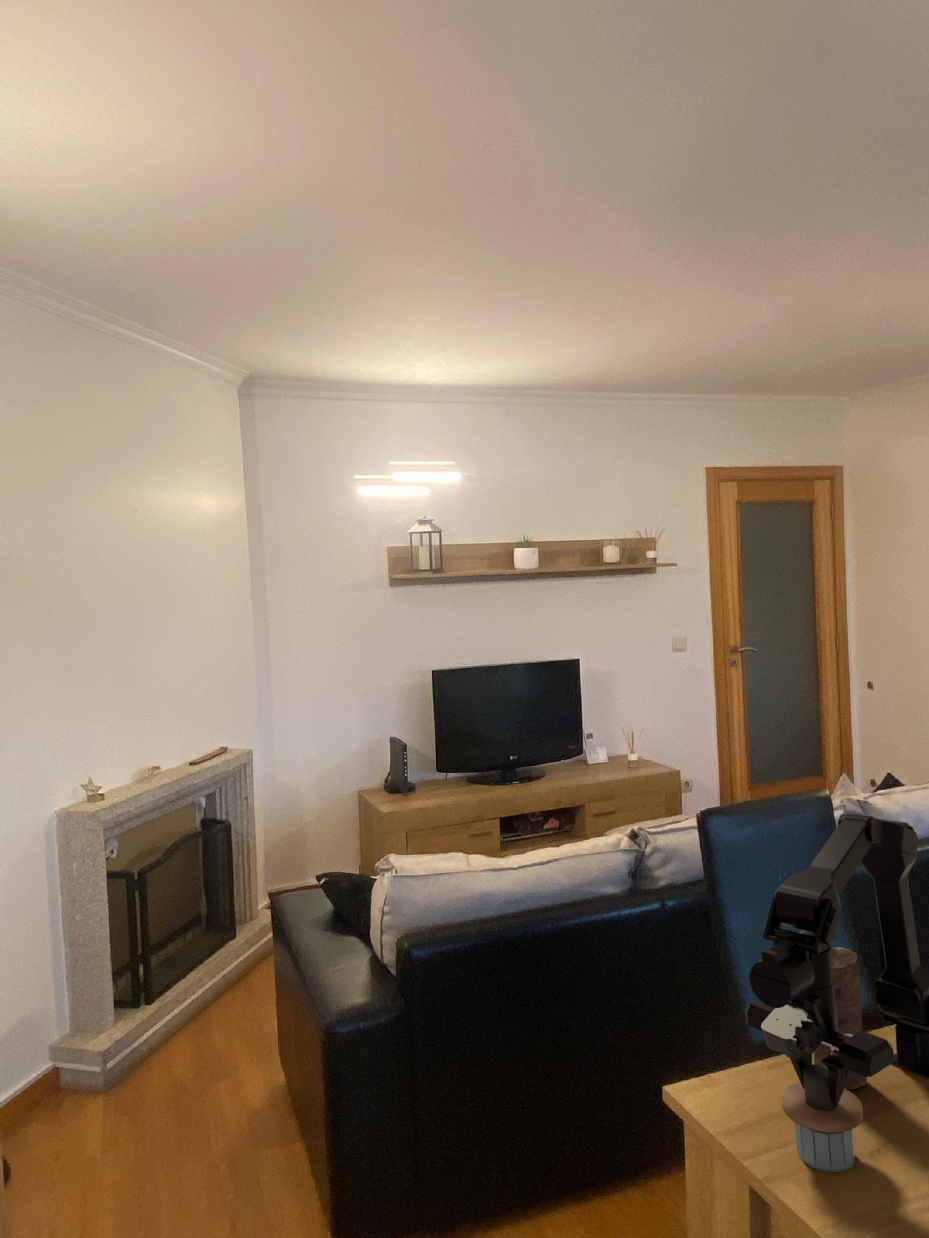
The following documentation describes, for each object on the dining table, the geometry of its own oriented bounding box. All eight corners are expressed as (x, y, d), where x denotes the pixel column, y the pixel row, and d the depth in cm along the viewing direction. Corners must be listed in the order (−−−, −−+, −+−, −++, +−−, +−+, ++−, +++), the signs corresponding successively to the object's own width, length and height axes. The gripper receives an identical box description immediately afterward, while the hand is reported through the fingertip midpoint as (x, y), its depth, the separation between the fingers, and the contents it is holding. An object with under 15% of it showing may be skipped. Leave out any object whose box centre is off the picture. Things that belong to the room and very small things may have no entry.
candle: (874, 1098, 125) (863, 963, 125) (821, 1096, 126) (810, 963, 126) (860, 1070, 132) (850, 943, 132) (811, 1069, 134) (800, 943, 134)
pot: (818, 1132, 118) (815, 1096, 118) (865, 1156, 112) (862, 1119, 112) (786, 1152, 114) (783, 1116, 114) (833, 1179, 108) (830, 1140, 108)
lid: (809, 1080, 120) (806, 1045, 120) (878, 1109, 112) (874, 1072, 112) (767, 1108, 114) (763, 1072, 114) (836, 1142, 106) (833, 1103, 106)
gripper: (715, 976, 117) (725, 1088, 117) (838, 1024, 101) (849, 1154, 101) (767, 952, 123) (776, 1059, 123) (891, 995, 107) (901, 1118, 107)
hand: (821, 1095), depth 113 cm, fingers closed on lid, 4 cm apart
